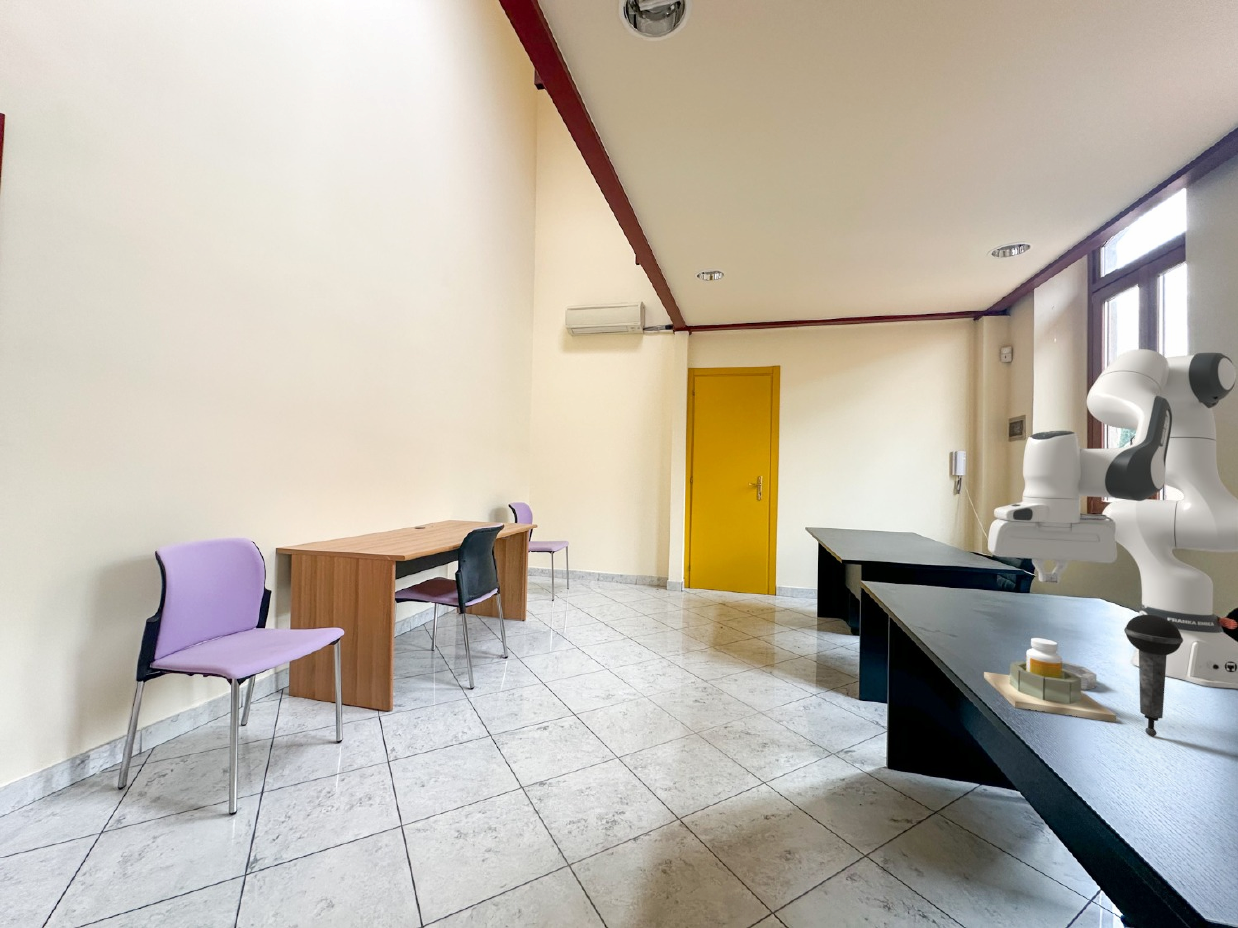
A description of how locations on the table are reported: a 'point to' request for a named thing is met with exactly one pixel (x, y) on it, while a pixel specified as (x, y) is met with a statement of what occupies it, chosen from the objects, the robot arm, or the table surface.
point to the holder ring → (1082, 675)
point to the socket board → (1047, 693)
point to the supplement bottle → (1044, 658)
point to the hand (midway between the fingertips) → (1049, 582)
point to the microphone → (1152, 661)
